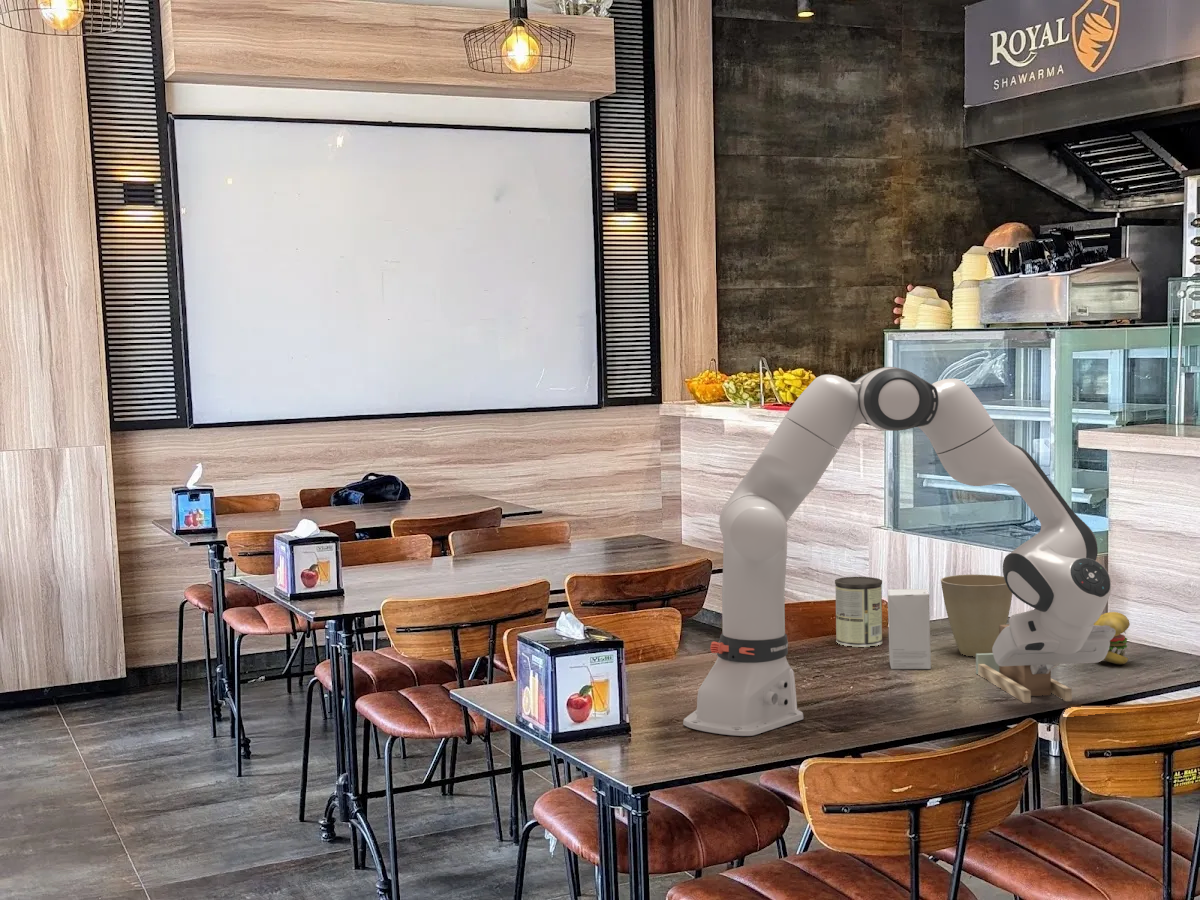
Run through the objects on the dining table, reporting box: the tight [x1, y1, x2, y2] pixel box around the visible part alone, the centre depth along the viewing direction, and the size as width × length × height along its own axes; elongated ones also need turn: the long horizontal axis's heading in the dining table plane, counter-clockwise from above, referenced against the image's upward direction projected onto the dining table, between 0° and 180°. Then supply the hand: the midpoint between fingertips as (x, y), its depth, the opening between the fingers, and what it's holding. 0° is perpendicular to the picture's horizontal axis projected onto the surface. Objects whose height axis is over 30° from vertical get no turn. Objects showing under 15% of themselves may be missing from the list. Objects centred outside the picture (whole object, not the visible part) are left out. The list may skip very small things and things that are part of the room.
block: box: [999, 623, 1052, 697], centre depth 246 cm, size 12×5×11 cm, turn 5°
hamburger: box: [1094, 611, 1131, 665], centre depth 264 cm, size 8×7×12 cm
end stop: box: [975, 653, 999, 675], centre depth 258 cm, size 1×9×4 cm, turn 95°
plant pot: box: [940, 574, 1013, 658], centre depth 275 cm, size 15×15×16 cm
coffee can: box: [834, 576, 884, 648], centre depth 288 cm, size 10×10×14 cm
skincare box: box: [887, 588, 932, 670], centre depth 265 cm, size 8×7×16 cm
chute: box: [978, 664, 1073, 704], centre depth 246 cm, size 22×9×2 cm, turn 5°
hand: (1038, 670), depth 239 cm, fingers closed, pressing on block
